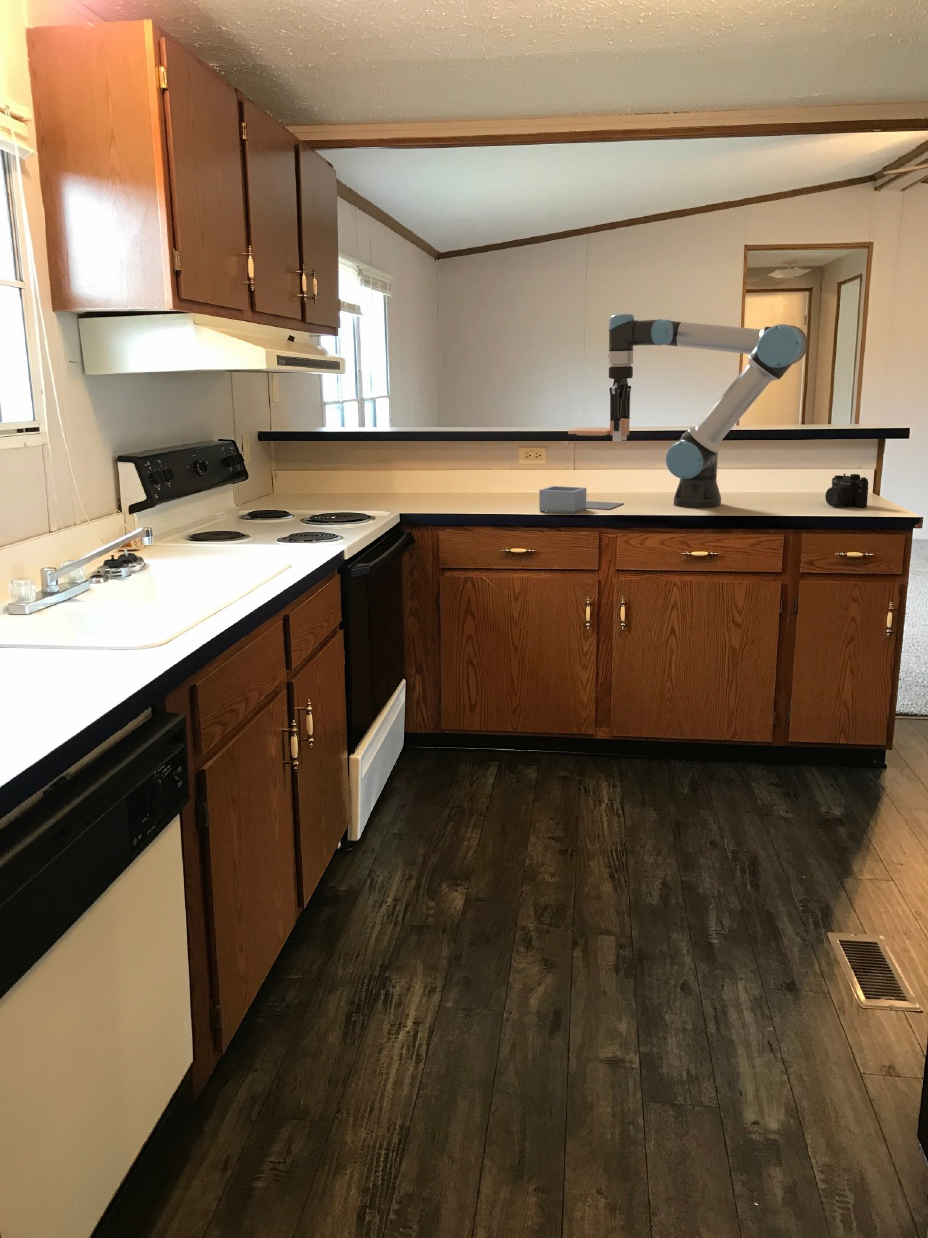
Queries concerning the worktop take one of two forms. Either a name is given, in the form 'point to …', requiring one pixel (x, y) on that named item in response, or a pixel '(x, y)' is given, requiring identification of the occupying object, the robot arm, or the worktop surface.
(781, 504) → the worktop surface
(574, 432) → the lid
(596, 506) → the mat
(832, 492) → the camera
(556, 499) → the tub
